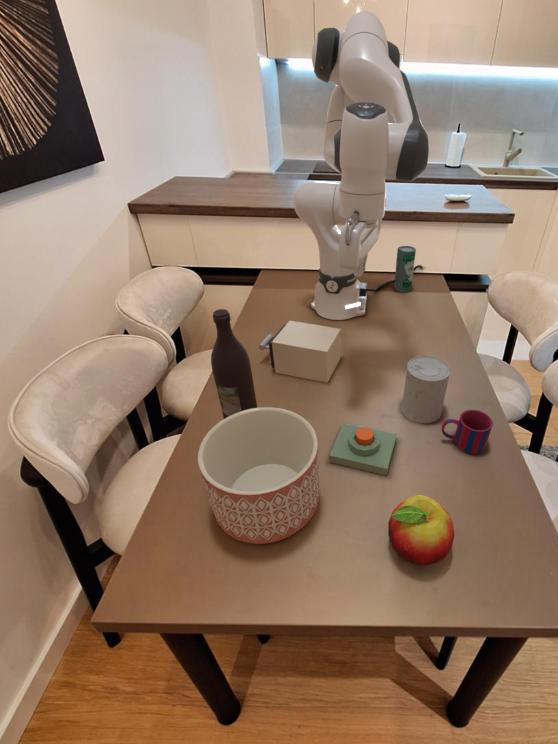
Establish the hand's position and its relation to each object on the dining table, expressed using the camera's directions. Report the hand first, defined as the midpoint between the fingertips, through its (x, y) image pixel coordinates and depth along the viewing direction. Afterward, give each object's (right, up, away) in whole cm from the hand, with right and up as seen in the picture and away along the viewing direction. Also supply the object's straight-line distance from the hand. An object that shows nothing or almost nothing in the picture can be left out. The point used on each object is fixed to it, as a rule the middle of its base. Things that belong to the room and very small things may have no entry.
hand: (359, 274), depth 86 cm
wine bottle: (-25, -35, +2) cm, 43 cm away
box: (+1, -38, -1) cm, 38 cm away
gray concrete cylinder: (+15, -30, +10) cm, 35 cm away
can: (+17, +12, +63) cm, 67 cm away
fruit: (+10, -51, -18) cm, 55 cm away
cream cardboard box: (-13, -19, +23) cm, 32 cm away
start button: (+1, -35, -3) cm, 35 cm away
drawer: (-17, -17, +23) cm, 34 cm away
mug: (+23, -36, +2) cm, 43 cm away
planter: (-17, -45, -11) cm, 50 cm away
